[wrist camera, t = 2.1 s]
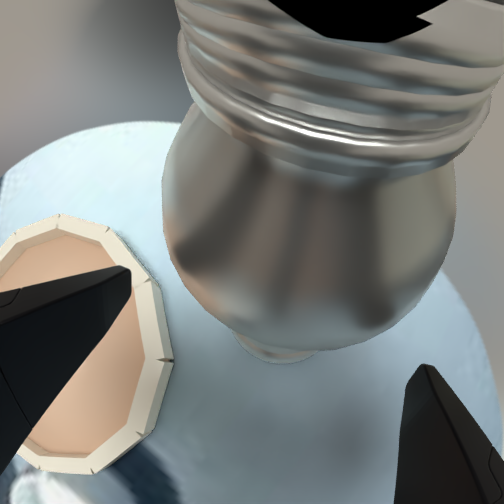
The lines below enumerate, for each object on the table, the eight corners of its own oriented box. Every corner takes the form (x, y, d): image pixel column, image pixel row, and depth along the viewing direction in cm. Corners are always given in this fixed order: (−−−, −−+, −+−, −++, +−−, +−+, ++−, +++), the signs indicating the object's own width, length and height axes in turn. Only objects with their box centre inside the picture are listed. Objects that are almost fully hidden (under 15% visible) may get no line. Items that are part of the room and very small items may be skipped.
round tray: (200, 461, 17) (193, 470, 15) (0, 458, 17) (-14, 461, 15) (149, 199, 24) (140, 186, 22) (-19, 258, 23) (-32, 251, 21)
